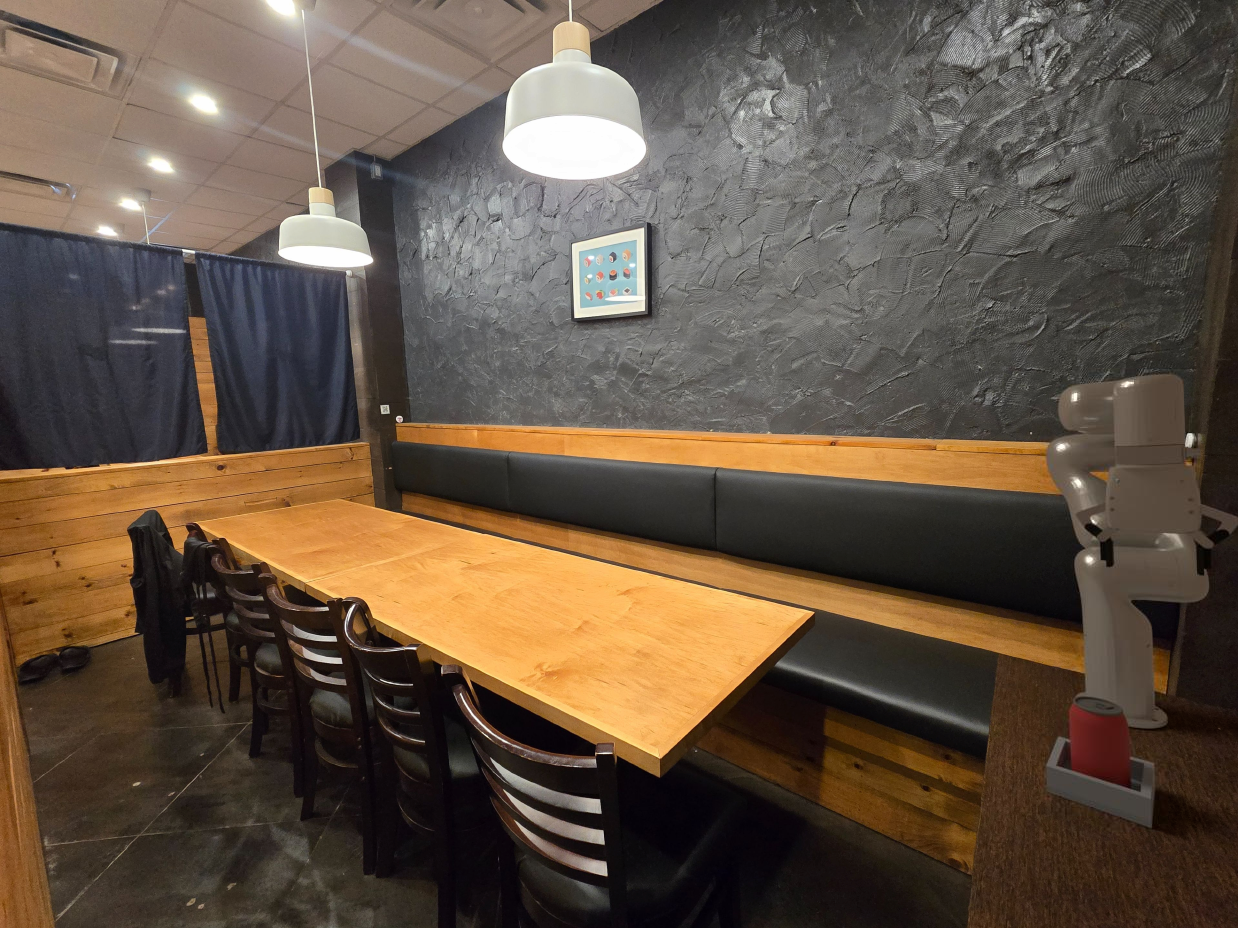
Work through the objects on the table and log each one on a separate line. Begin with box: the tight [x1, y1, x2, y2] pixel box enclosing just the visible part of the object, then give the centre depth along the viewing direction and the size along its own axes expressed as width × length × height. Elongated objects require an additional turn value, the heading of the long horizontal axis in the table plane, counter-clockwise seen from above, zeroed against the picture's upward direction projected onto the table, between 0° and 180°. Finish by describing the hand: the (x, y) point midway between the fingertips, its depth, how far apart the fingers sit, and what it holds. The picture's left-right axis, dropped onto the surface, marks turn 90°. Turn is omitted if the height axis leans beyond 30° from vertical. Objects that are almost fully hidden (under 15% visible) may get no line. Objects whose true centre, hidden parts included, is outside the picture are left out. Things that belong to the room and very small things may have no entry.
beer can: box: [1068, 696, 1131, 789], centre depth 78 cm, size 7×7×12 cm
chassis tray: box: [1045, 735, 1156, 829], centre depth 78 cm, size 11×11×4 cm
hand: (1153, 569), depth 79 cm, fingers open, 9 cm apart
